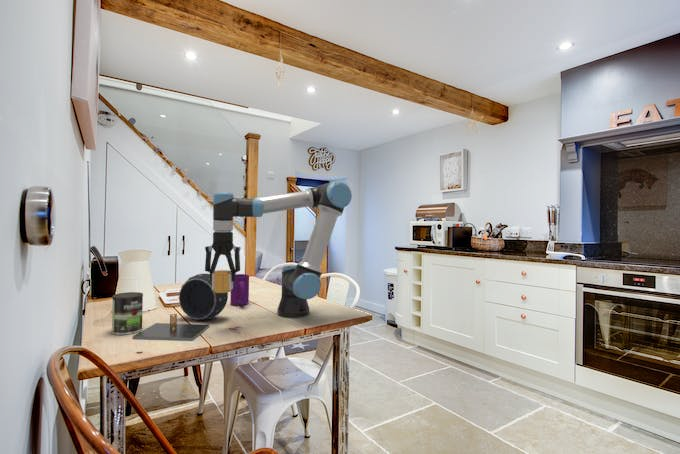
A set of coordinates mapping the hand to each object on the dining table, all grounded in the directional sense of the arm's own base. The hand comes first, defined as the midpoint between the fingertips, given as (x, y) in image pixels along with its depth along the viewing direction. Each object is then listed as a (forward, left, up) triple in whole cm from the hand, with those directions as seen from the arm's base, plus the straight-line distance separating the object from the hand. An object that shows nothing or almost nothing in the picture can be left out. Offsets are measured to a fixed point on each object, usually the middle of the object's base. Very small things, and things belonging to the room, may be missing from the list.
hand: (222, 289), depth 140 cm
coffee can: (+35, +4, -17) cm, 39 cm away
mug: (+4, -39, -17) cm, 42 cm away
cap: (0, 0, -1) cm, 1 cm away
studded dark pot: (+13, -14, -17) cm, 25 cm away
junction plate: (+17, +5, -16) cm, 24 cm away
